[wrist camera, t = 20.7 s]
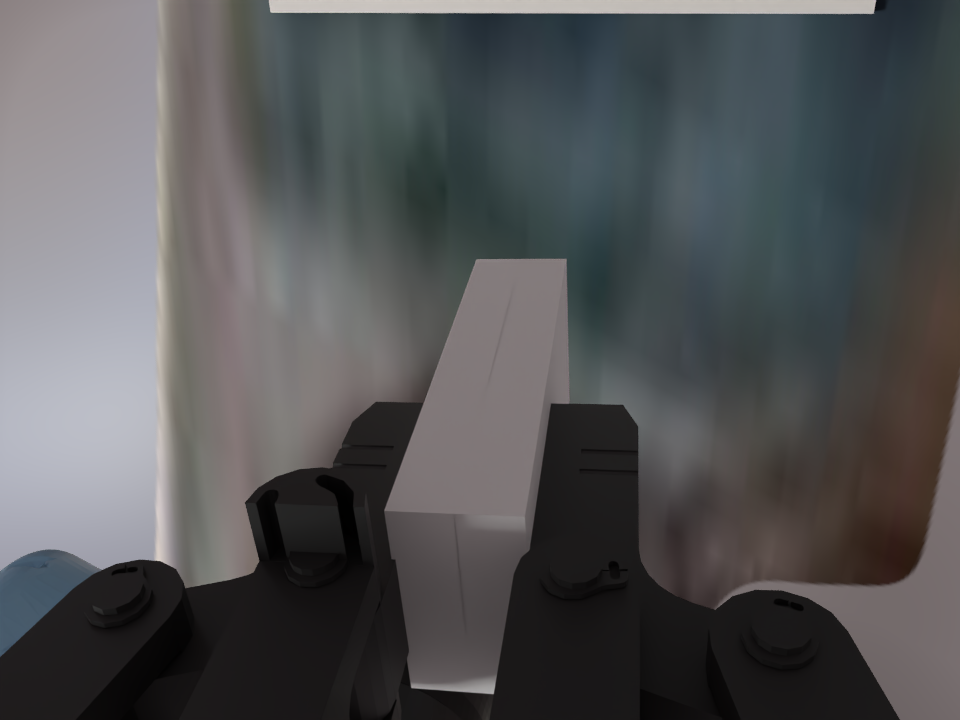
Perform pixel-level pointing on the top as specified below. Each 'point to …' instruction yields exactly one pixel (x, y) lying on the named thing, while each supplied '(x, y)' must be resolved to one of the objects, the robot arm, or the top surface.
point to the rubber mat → (576, 6)
